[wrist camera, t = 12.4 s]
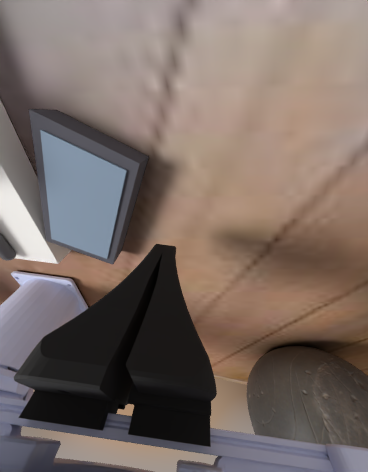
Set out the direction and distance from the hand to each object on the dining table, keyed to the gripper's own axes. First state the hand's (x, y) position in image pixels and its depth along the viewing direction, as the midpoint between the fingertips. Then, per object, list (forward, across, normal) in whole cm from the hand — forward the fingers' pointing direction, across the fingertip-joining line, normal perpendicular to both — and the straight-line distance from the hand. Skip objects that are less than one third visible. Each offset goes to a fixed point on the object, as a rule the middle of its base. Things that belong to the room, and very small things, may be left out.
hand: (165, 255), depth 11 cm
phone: (+4, +6, -2) cm, 8 cm away
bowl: (+4, -22, +24) cm, 33 cm away
